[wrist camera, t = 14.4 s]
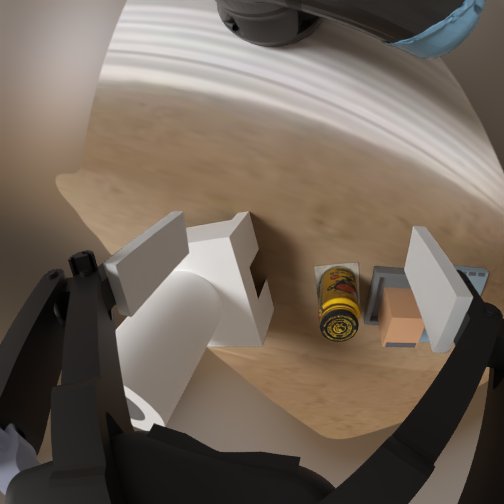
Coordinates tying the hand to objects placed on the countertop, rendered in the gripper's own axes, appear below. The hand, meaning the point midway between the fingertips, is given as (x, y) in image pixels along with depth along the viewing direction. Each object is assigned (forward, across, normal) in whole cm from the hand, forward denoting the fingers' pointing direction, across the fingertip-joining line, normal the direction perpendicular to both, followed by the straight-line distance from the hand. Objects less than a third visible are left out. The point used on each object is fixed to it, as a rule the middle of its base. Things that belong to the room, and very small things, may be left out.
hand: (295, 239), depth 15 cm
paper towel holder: (+27, -17, -19) cm, 37 cm away
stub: (+26, +16, -22) cm, 38 cm away
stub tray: (+27, +16, -21) cm, 38 cm away
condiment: (+27, +5, -20) cm, 34 cm away
